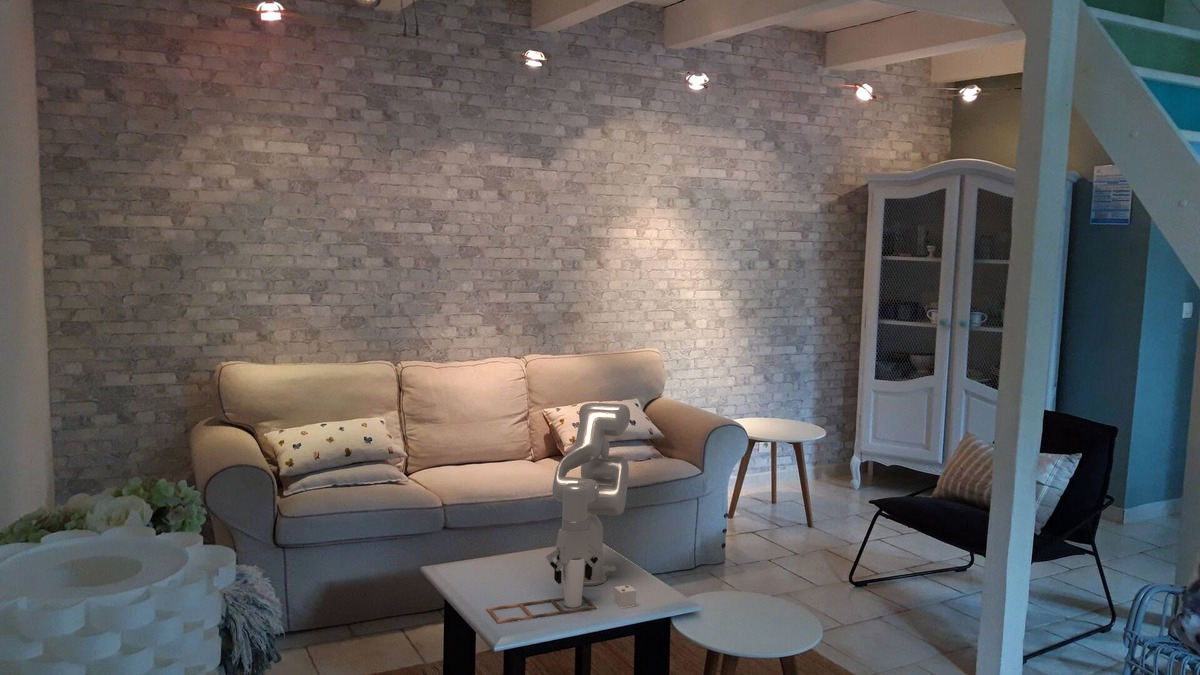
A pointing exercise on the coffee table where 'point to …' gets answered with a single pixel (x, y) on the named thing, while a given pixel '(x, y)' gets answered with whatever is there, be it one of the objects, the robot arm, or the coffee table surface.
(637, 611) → the coffee table surface
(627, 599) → the die
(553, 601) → the copper window frame
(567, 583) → the drinking glass
